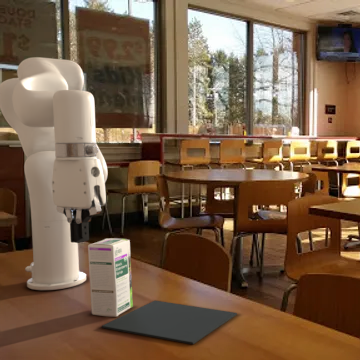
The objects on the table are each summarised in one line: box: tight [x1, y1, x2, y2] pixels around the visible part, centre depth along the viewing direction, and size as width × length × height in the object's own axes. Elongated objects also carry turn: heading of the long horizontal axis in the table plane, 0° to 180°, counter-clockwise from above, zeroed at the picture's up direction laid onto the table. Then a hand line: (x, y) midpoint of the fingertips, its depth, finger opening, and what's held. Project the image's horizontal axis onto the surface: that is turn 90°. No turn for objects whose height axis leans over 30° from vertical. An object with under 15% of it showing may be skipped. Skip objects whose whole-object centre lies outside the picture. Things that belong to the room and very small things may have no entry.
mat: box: [101, 300, 238, 345], centre depth 95 cm, size 20×15×1 cm
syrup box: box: [87, 237, 134, 318], centre depth 100 cm, size 6×6×14 cm
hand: (80, 241), depth 102 cm, fingers closed
